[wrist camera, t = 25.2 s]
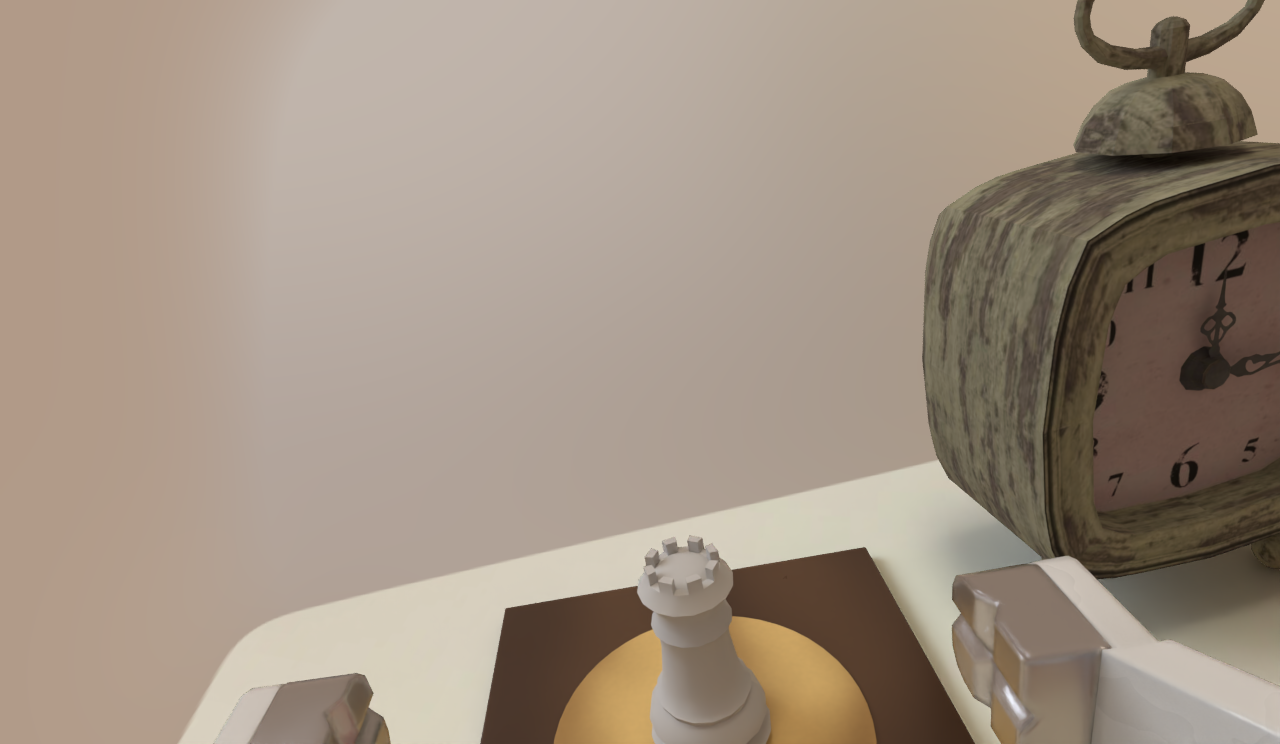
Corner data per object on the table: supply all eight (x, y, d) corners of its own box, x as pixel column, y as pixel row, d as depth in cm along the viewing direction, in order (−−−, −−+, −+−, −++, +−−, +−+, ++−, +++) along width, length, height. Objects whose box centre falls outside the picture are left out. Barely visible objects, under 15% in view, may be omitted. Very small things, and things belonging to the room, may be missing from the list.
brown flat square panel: (423, 1089, 19) (416, 1074, 19) (508, 617, 36) (504, 606, 35) (1100, 983, 19) (1102, 968, 18) (866, 556, 35) (865, 544, 35)
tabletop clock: (1030, 677, 27) (1068, -72, 18) (906, 542, 36) (888, -18, 26) (1358, 581, 29) (1555, -157, 19) (1166, 473, 37) (1237, -80, 28)
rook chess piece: (755, 674, 29) (731, 508, 26) (788, 772, 25) (764, 588, 22) (647, 697, 29) (610, 533, 26) (661, 799, 25) (619, 619, 22)
